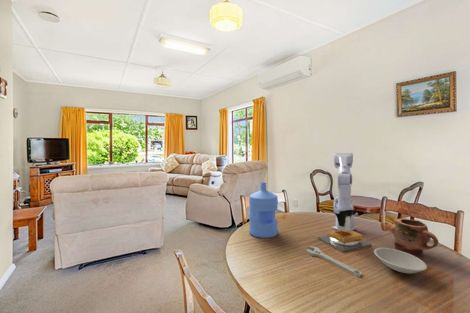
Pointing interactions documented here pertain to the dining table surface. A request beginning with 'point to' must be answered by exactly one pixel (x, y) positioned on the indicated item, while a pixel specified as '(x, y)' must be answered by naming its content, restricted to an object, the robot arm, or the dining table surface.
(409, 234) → the brown ceramic rounded pot
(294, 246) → the dining table surface
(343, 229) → the rectangular block
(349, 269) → the adjustable wrench
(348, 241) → the bracket rosette
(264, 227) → the water jug
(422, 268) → the dish
